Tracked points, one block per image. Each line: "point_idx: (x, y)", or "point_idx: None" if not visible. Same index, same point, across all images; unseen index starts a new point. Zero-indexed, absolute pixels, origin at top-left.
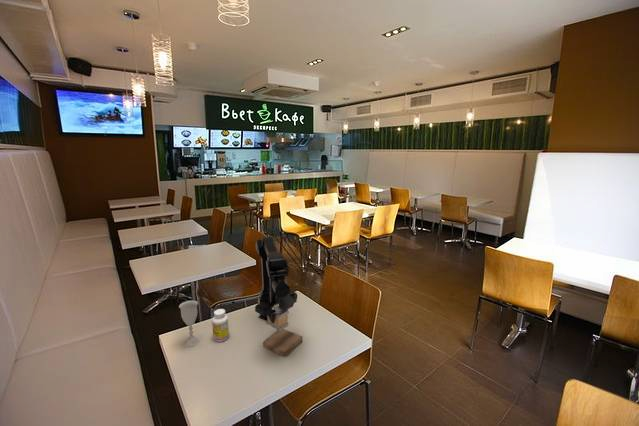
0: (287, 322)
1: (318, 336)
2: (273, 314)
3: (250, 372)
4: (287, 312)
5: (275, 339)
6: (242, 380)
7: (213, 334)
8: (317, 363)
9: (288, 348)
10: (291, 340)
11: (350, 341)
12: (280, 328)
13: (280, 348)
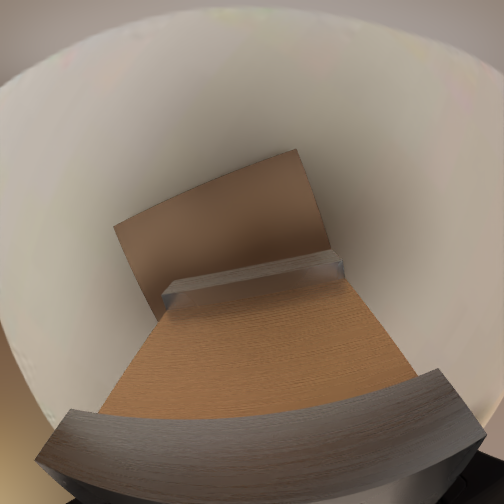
0: (168, 312)
1: (54, 207)
2: (460, 487)
3: (466, 186)
4: (77, 438)
5: None
6: (494, 171)
7: None
8: (175, 28)
9: (258, 166)
10: (192, 232)
11: (5, 109)
12: (325, 260)
13: (305, 202)
